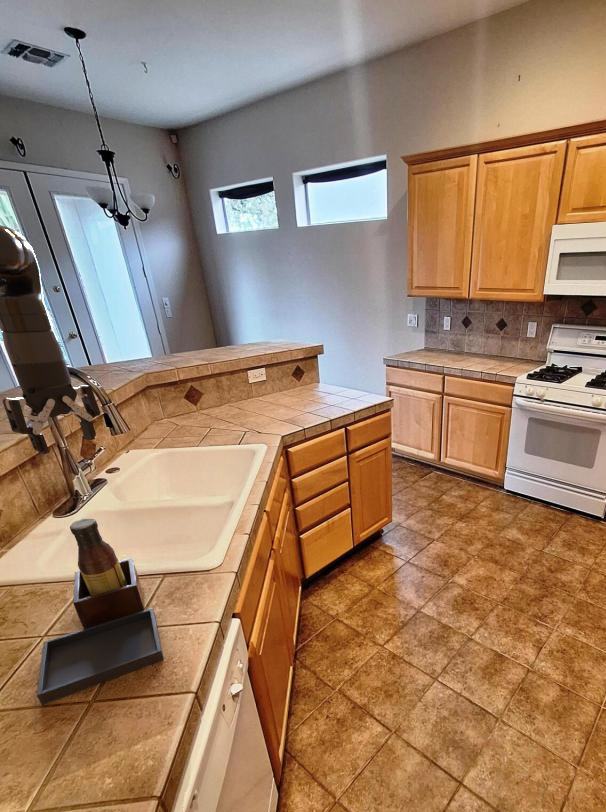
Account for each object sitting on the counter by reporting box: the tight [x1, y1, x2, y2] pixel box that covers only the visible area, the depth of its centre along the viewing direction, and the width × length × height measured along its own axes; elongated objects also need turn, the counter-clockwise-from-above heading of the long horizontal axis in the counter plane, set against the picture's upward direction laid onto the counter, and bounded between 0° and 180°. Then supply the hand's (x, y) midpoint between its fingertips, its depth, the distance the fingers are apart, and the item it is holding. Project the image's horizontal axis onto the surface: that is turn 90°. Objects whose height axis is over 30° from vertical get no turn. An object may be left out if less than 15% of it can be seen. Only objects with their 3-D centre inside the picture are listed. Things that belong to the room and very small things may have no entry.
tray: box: [36, 607, 165, 705], centre depth 75 cm, size 17×13×2 cm
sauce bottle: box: [69, 517, 128, 596], centre depth 83 cm, size 6×6×20 cm
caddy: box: [72, 557, 146, 630], centre depth 86 cm, size 10×11×7 cm
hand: (68, 446), depth 82 cm, fingers open, 8 cm apart
